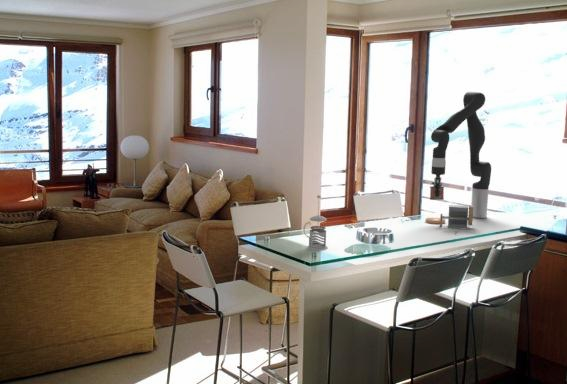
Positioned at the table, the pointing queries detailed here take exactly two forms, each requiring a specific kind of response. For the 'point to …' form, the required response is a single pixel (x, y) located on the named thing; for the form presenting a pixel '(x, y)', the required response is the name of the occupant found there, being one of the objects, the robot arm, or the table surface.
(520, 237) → the table surface
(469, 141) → the robot arm
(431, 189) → the lighter
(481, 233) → the table surface
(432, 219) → the coaster
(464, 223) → the grey box
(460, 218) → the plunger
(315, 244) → the french press
